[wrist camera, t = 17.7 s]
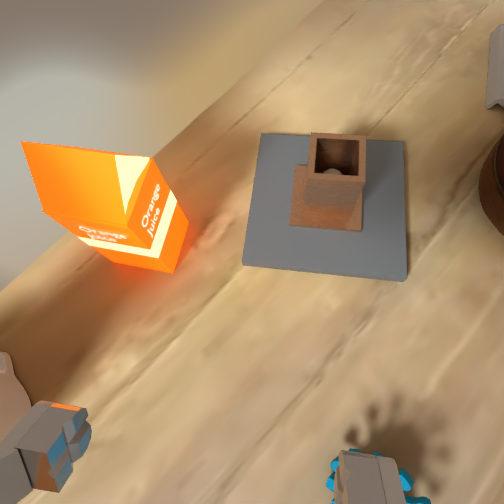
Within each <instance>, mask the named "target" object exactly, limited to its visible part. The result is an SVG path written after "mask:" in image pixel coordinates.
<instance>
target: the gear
mask: <svg viewBox="0 0 504 504" xmlns="http://www.w3.org/2000/svg"><path fill="white" fill-rule="evenodd" d="M349 451H351V452H358V453H362V452H361V451H360V450H357V449H351V448H350V449H349ZM373 455H375V456H380V457H384V456H382V455H381V454H379V453H378V452H374V453H373ZM330 465H331V468H332V469H333V470H334V471H336V467H338V466H339V457H337V458H335V459H334V460H333V461H332V463H331V464H330ZM398 472H399V476H400V480H401V484H402V488H403V490H404V491H409V490H411V488H412V486H413V483H414V481H413V479H412V478H411V476H410V475H409V474H408V472H407V471H406V470H405V469H401V470H399V471H398ZM334 479H335V473H332V474H331V475H330V477H329V478H328V479H327V482H326V486H327V488H328V489H330V490H331V491H334ZM404 496H405V500H406V504H431V502H430V499H428V498H426V497H416V498H415V497H410V496H408V495H405V494H404ZM332 504H335V499H333V500H332Z"/></svg>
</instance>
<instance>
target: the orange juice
mask: <svg viewBox="0 0 504 504" xmlns="http://www.w3.org/2000/svg"><path fill="white" fill-rule="evenodd" d="M21 144H22V147H23V150H24V153H25V156H26V159H27V162H28V165H29V168H30V171H31V174H32V177H33V180H34V183H35V186H36V189H37V192H38V195H39V198H40V201H41V203H42V207H43V212H44V213H45V214H47V215H49V216H50V217H51V218H52V219H54V220H55V221H57V222H58V223H59V224H61V225H62V226H64V227H65V228H66V229H68V230H69V231H71V232H72V233H73V234H75V235H76V236H77V237H78V238H80V239H81V240H82V241H84V242H85V243H87V244H88V245H90V246H91V247H93V248H94V249H96V250H97V251H98V252H100V253H101V254H103V255H104V256H105V257H107V258H108V259H110V260H111V261H112V262H116V263H121V264H127V265H132V266H137V267H142V268H148V269H153V270H158V271H163V272H169V273H174V270H175V267H176V263H177V260H178V257H179V254H180V250H181V247H182V244H183V240H184V237H185V234H186V231H187V227H188V224H189V222H188V220H187V219H186V217H185V215H184V213H183V211H182V210H181V208H180V206H179V204H178V203H177V200H176V198H175V196H174V195H173V193H172V191H171V190H170V188H169V187H168V185H167V183H166V181H165V180H164V178H163V176H162V174H161V173H160V171H159V169H158V167H157V165H156V164H155V162H154V160H153V158H150V157H144V156H136V155H129V154H122V153H114V152H107V151H100V150H93V149H86V148H79V147H71V146H61V145H51V144H41V143H32V142H22V141H21Z"/></svg>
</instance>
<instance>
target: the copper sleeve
mask: <svg viewBox="0 0 504 504" xmlns="http://www.w3.org/2000/svg"><path fill="white" fill-rule="evenodd" d="M328 169H336V170H338V171H340V172H341V174H342V175H336V174H323V173H324V172H325V171H326V170H328ZM365 171H366V136H365V135H347V134H330V133H312V132H311V137H310V145H309V152H308V160H307V166H301V165H295V173H294V183H293V192H292V202H291V211H290V221H289V226H293V227H305V228H316V229H327V230H338V231H350V232H361V218H362V189H363V186H364V184H365Z"/></svg>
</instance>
